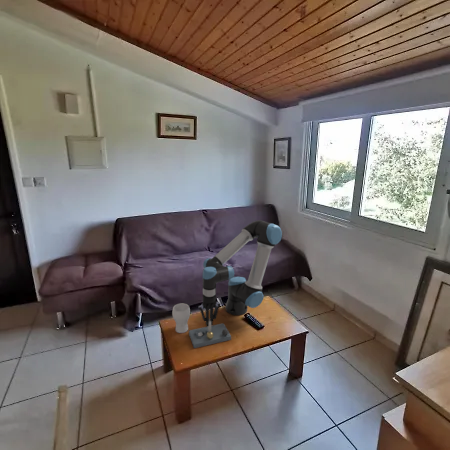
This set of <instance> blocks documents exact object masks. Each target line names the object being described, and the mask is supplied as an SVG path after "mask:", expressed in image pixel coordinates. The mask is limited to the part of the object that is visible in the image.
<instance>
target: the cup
mask: <svg viewBox="0 0 450 450" xmlns="http://www.w3.org/2000/svg"><path fill="white" fill-rule="evenodd" d="M171 315H172V318H173V320H174V321H175V332H176V333H178V334H185V333H186V332H188V331H189V325H188V321H189V319H190V317H191V316H190V315H191V309H190V305H188V304H187V303H181V302H180V303H177V304H174V306H173V307H172V313H171Z"/></svg>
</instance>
